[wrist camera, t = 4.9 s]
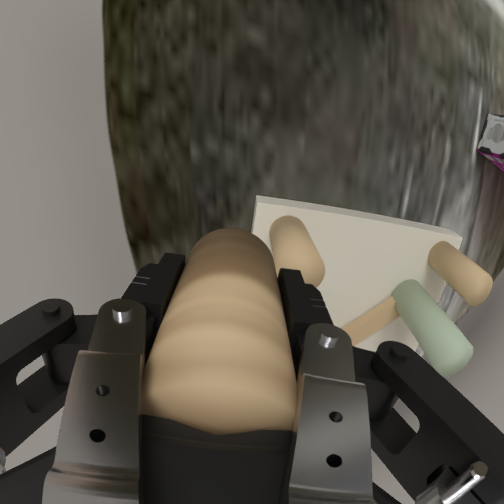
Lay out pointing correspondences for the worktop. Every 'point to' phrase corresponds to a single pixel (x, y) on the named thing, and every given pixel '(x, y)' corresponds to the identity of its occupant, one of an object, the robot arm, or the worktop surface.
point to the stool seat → (365, 259)
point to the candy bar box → (493, 140)
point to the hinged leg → (418, 327)
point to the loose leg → (224, 342)
